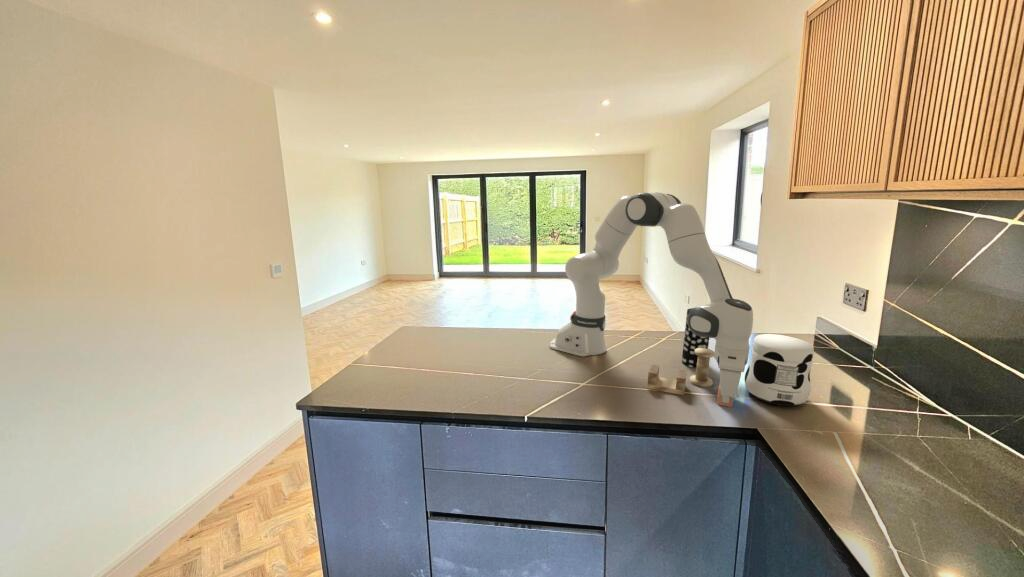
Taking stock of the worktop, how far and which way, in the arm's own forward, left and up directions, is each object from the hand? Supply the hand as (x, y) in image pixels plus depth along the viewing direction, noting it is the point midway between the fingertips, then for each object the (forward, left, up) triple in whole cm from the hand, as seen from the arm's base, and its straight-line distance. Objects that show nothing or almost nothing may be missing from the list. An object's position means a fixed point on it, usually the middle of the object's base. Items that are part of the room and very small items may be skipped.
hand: (725, 397), depth 128 cm
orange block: (0, 0, -2) cm, 2 cm away
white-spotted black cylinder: (-10, +28, -2) cm, 30 cm away
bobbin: (-7, +12, -2) cm, 14 cm away
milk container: (+14, +11, -2) cm, 18 cm away
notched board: (-17, +3, -2) cm, 17 cm away
